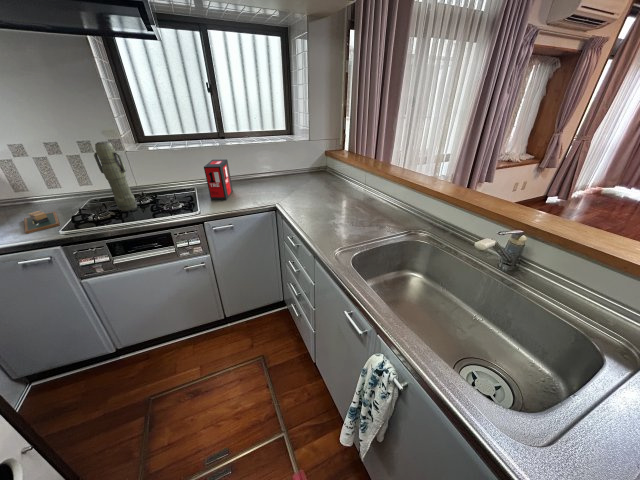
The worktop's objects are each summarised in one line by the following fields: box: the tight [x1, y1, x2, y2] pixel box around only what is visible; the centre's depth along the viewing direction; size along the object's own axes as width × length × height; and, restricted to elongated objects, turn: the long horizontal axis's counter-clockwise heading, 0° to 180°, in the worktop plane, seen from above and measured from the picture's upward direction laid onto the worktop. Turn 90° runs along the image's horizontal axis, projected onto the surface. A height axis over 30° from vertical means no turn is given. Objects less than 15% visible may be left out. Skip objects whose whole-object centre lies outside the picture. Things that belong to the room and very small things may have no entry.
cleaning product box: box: [203, 158, 234, 202], centre depth 160 cm, size 16×9×20 cm, turn 3°
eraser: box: [28, 210, 49, 223], centre depth 131 cm, size 6×4×4 cm, turn 64°
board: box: [23, 211, 61, 235], centre depth 132 cm, size 20×12×1 cm, turn 45°
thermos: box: [93, 141, 138, 212], centre depth 140 cm, size 9×12×35 cm
